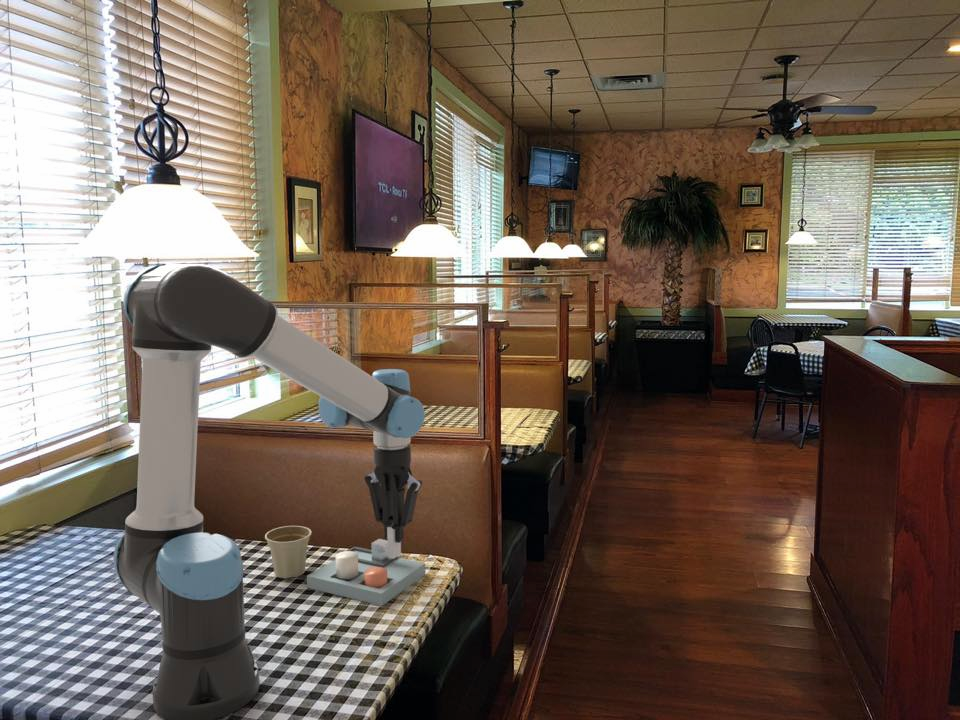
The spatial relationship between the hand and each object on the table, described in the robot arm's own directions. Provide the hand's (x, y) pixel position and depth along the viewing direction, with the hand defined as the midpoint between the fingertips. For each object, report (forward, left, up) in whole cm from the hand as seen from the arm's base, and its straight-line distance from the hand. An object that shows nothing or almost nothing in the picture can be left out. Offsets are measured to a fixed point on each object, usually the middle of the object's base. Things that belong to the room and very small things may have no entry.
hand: (394, 555), depth 155 cm
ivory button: (-9, +5, -2) cm, 11 cm away
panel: (-5, +3, -4) cm, 7 cm away
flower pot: (-9, +20, -4) cm, 23 cm away
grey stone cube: (0, +3, -2) cm, 4 cm away
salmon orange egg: (-9, -2, -4) cm, 10 cm away
